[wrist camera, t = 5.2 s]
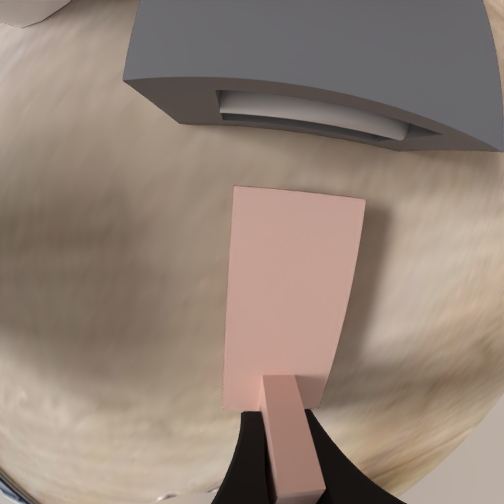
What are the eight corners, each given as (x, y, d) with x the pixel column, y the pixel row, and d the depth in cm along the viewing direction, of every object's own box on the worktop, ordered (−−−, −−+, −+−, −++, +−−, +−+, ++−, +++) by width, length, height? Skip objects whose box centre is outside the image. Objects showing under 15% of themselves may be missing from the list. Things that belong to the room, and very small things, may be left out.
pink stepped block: (360, 198, 9) (485, 240, 4) (307, 429, 12) (333, 523, 6) (234, 185, 8) (232, 213, 3) (221, 430, 11) (221, 532, 6)
